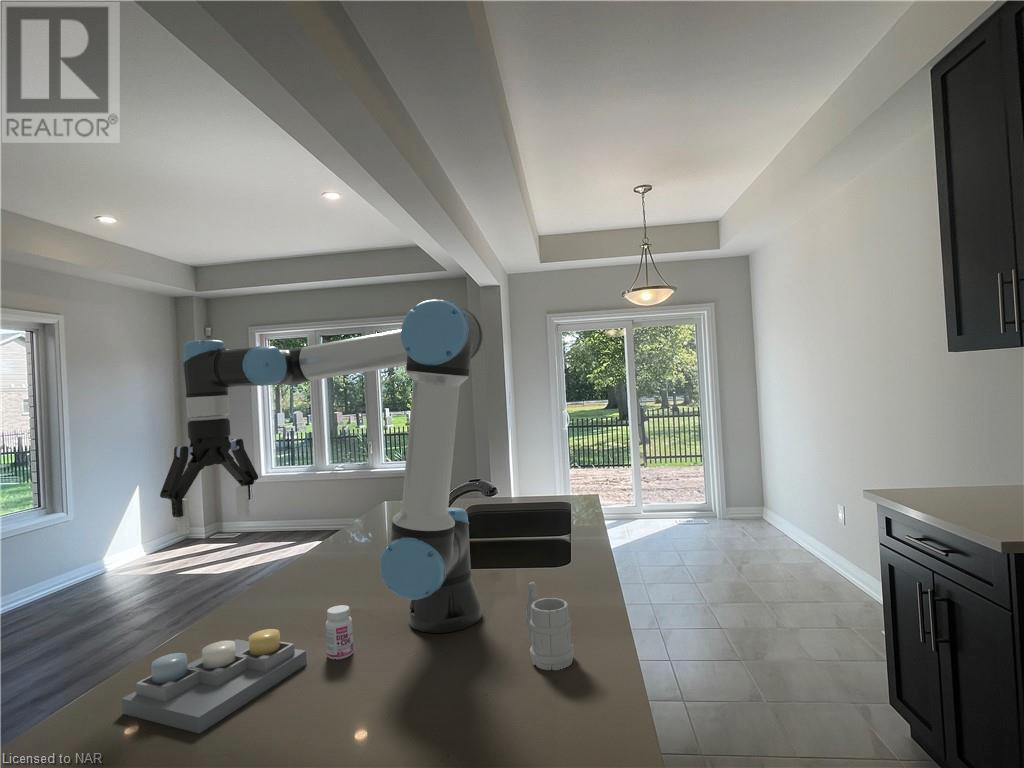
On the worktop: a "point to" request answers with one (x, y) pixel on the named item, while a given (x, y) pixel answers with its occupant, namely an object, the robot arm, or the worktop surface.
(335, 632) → the pill bottle
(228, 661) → the ivory button
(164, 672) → the slate button
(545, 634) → the mug
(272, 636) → the ochre button
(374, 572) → the worktop surface
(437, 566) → the robot arm
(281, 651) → the panel
